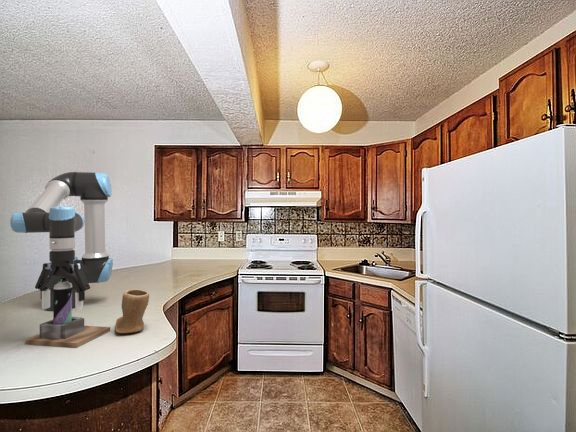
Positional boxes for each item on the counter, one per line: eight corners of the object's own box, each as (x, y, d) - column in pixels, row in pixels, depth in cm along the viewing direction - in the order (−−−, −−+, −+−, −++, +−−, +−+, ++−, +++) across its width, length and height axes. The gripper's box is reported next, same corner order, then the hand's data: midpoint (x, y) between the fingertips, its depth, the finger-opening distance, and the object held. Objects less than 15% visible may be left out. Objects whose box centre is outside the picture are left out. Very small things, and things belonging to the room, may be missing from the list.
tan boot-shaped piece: (149, 332, 123) (149, 292, 123) (113, 337, 118) (113, 295, 118) (148, 321, 137) (148, 284, 137) (116, 325, 132) (116, 287, 132)
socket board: (24, 344, 113) (24, 326, 113) (64, 328, 128) (64, 312, 128) (76, 347, 109) (76, 329, 109) (110, 331, 125) (110, 315, 125)
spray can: (51, 337, 114) (52, 279, 114) (54, 332, 119) (55, 276, 119) (70, 334, 117) (71, 278, 117) (72, 330, 122) (73, 275, 122)
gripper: (22, 250, 117) (22, 310, 117) (85, 251, 112) (85, 313, 112) (41, 248, 124) (41, 305, 124) (101, 249, 120) (101, 307, 120)
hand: (62, 309), depth 118 cm, fingers open, 13 cm apart
